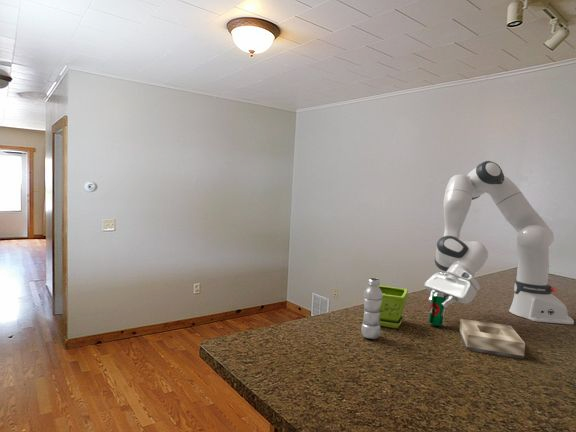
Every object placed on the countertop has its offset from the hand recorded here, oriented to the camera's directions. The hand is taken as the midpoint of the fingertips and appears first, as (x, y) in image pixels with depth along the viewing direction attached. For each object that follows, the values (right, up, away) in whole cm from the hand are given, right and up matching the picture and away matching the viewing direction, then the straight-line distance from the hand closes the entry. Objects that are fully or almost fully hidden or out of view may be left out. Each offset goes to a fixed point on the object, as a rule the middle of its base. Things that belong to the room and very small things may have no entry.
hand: (436, 303), depth 136 cm
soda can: (0, -8, 0) cm, 8 cm away
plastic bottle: (-28, -8, -14) cm, 32 cm away
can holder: (+11, -10, -15) cm, 21 cm away
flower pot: (-19, -8, +1) cm, 21 cm away
